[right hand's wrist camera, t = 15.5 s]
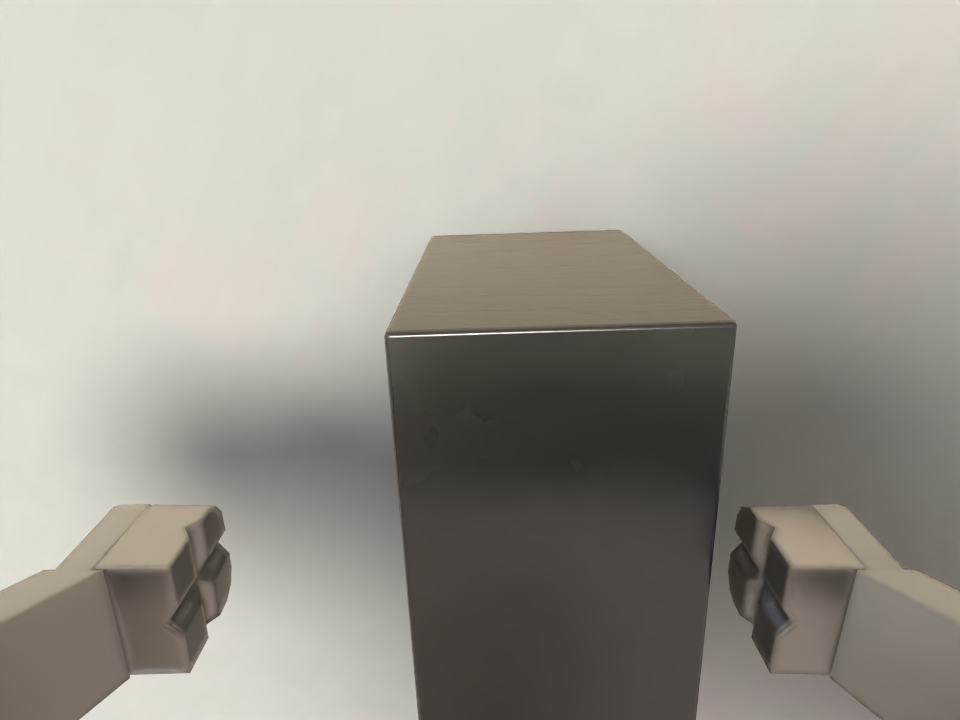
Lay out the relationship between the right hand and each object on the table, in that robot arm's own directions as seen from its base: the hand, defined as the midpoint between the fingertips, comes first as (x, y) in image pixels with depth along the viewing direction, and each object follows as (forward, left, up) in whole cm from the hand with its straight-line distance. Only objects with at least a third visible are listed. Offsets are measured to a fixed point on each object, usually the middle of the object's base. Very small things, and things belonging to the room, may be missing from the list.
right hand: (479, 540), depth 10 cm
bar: (-7, +7, -8) cm, 12 cm away
